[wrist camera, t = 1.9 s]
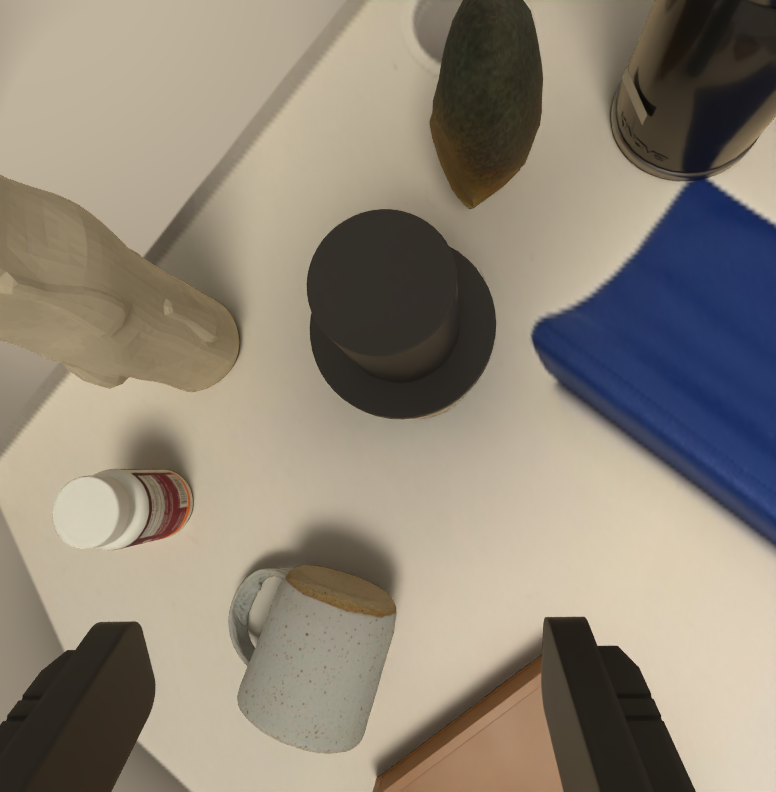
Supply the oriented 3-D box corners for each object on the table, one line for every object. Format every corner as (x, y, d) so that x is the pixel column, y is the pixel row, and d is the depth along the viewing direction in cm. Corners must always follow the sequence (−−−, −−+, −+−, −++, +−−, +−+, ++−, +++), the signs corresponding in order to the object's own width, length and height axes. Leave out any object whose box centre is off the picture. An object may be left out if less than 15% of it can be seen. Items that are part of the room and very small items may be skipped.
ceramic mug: (410, 589, 37) (393, 617, 30) (373, 716, 37) (345, 779, 29) (260, 536, 39) (209, 551, 32) (222, 656, 39) (160, 700, 31)
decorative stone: (447, 116, 41) (435, -82, 26) (535, 121, 40) (573, -82, 25) (428, 247, 40) (404, 117, 25) (517, 255, 39) (547, 125, 24)
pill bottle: (122, 528, 41) (34, 543, 32) (142, 461, 41) (59, 459, 33) (184, 547, 40) (109, 567, 31) (203, 479, 40) (135, 481, 32)
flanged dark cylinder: (421, 216, 33) (403, 120, 24) (531, 347, 31) (557, 297, 22) (286, 322, 33) (218, 266, 24) (388, 457, 31) (355, 452, 22)
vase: (195, 428, 41) (-525, 321, 11) (112, 355, 42) (-709, 92, 13) (272, 333, 41) (-241, -21, 11) (187, 264, 42) (-458, -207, 13)
